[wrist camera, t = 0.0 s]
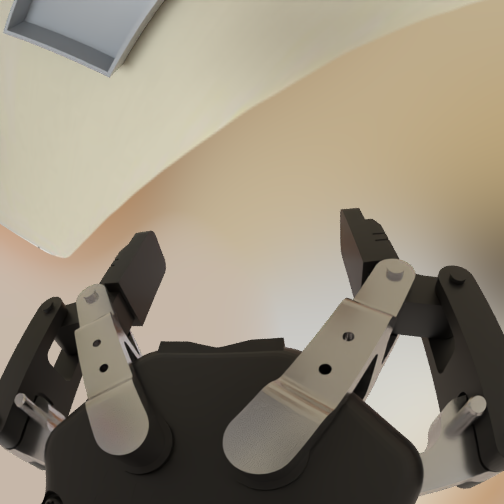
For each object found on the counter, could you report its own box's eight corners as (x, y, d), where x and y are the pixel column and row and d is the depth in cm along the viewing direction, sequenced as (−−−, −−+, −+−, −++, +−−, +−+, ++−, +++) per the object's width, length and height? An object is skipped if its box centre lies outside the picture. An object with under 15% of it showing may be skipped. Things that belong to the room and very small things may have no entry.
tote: (22, 22, 22) (3, 32, 19) (63, -63, 13) (42, -61, 10) (122, 64, 32) (109, 77, 29) (179, -19, 23) (170, -17, 20)
